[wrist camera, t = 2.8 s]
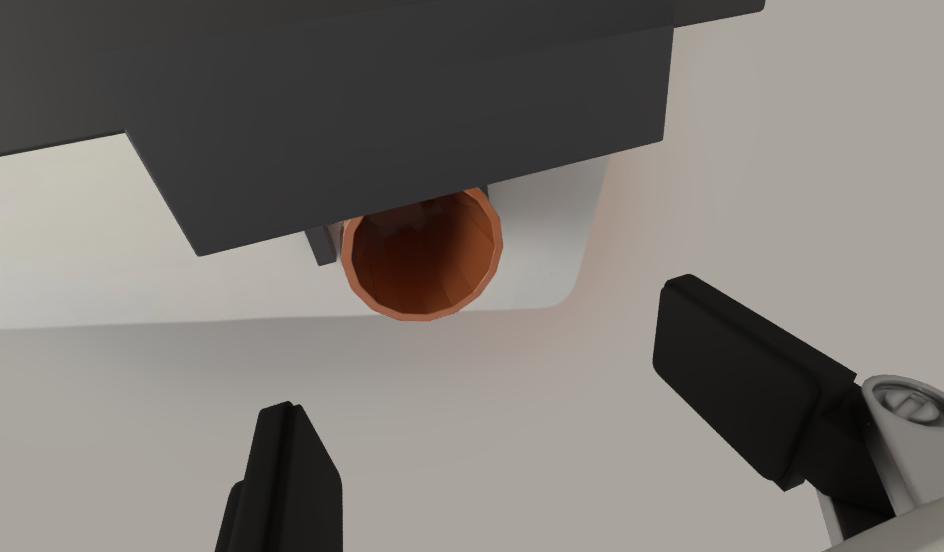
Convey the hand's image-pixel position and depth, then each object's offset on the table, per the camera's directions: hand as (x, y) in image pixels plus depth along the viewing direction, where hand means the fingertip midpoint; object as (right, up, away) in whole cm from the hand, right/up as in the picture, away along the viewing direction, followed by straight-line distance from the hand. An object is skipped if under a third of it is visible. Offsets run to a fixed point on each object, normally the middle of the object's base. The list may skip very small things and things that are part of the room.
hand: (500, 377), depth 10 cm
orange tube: (-6, +9, +17) cm, 20 cm away
